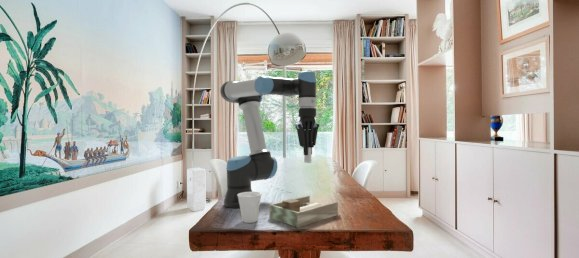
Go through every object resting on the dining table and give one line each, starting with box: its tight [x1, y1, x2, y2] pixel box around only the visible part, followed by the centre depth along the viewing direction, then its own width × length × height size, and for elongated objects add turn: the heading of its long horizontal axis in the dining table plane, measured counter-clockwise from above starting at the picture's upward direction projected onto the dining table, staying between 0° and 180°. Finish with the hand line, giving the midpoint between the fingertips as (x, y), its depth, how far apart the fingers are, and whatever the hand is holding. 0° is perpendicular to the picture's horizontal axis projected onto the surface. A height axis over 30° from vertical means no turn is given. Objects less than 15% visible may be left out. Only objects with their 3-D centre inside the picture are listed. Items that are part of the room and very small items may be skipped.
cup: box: [237, 191, 262, 224], centre depth 129 cm, size 10×10×11 cm
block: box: [281, 198, 300, 212], centre depth 129 cm, size 5×5×5 cm
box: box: [268, 195, 339, 228], centre depth 135 cm, size 18×23×6 cm
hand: (307, 162), depth 137 cm, fingers closed
